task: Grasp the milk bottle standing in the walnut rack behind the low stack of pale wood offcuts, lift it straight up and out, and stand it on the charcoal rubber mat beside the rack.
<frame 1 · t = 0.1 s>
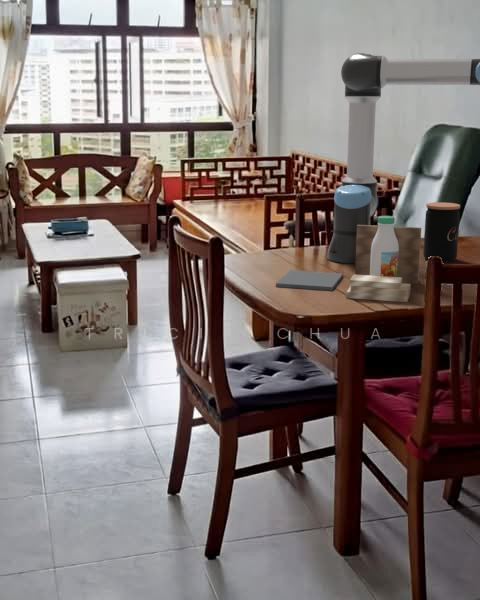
coffee jar: (439, 260, 275), on the table
offcut rack: (383, 287, 236), on the table
milk bottle: (383, 288, 236), on the table
charcoal mat: (310, 281, 243), on the table
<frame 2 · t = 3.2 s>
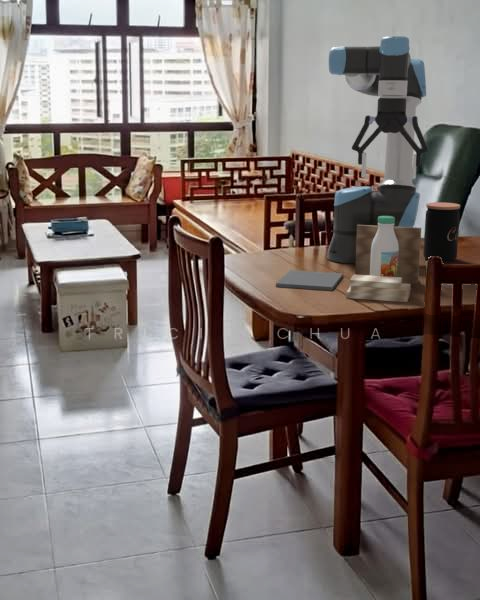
hand: (388, 177, 229), 31 cm above the table, tool pointing down, fingers open, 13 cm apart
nothing on the table moved.
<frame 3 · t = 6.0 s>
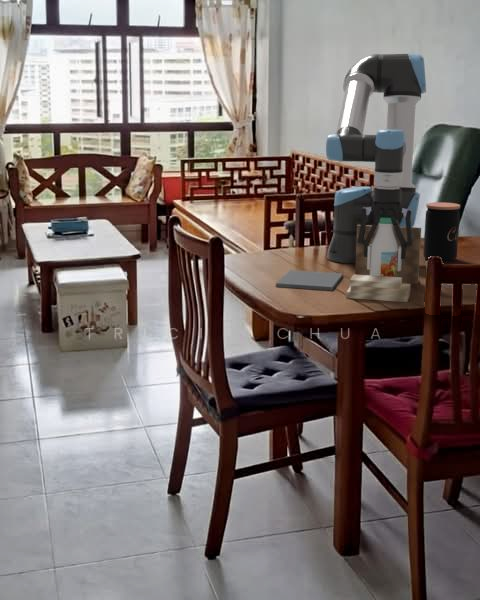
hand: (383, 269, 235), 5 cm above the table, tool pointing down, fingers closed on milk bottle, 8 cm apart
milk bottle: (383, 288, 236), on the table, touching gripper
everything else where it was.
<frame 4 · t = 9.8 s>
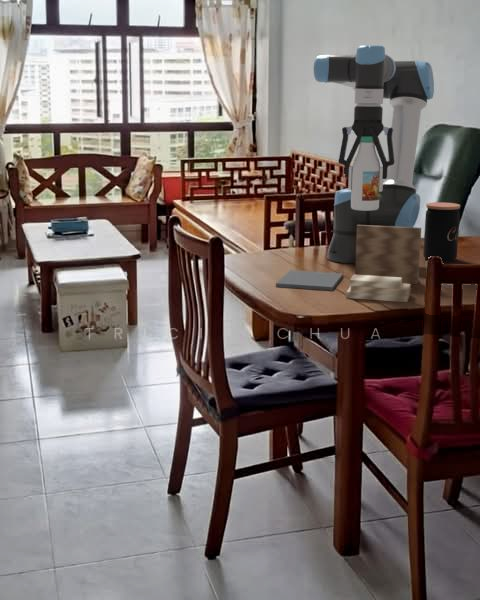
hand: (365, 190, 232), 27 cm above the table, tool pointing down, fingers closed on milk bottle, 8 cm apart
milk bottle: (364, 209, 233), point 21 cm above the table, touching gripper
everything else where it was.
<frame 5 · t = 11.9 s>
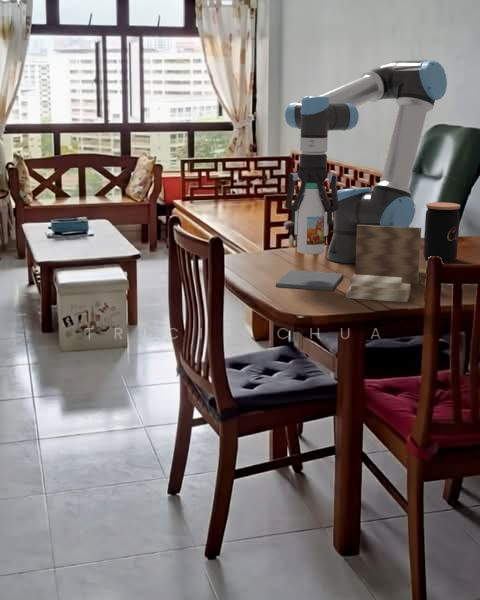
hand: (311, 234, 239), 14 cm above the table, tool pointing down, fingers closed on milk bottle, 8 cm apart
milk bottle: (310, 253, 240), point 8 cm above the table, touching gripper
everything else where it was.
when the fingers open (8 cm above the table, at t = 13.7 s): milk bottle drops 1 cm, resting on charcoal mat.
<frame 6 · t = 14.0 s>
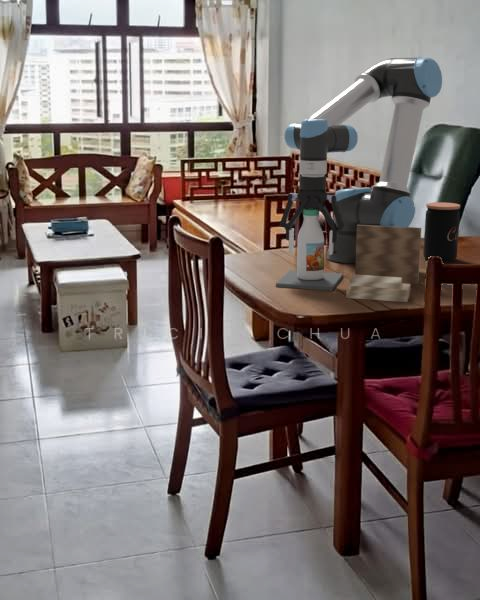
hand: (311, 252, 241), 8 cm above the table, tool pointing down, fingers open, 11 cm apart
milk bottle: (310, 278, 242), point 1 cm above the table, touching charcoal mat
everything else where it was.
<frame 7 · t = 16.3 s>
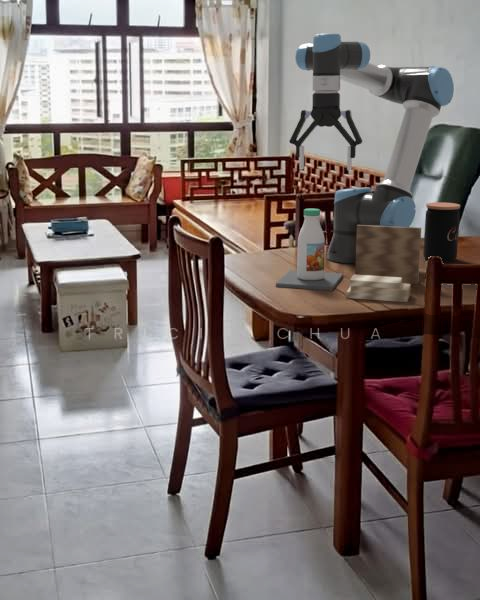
hand: (325, 169, 238), 32 cm above the table, tool pointing down, fingers open, 13 cm apart
nothing on the table moved.
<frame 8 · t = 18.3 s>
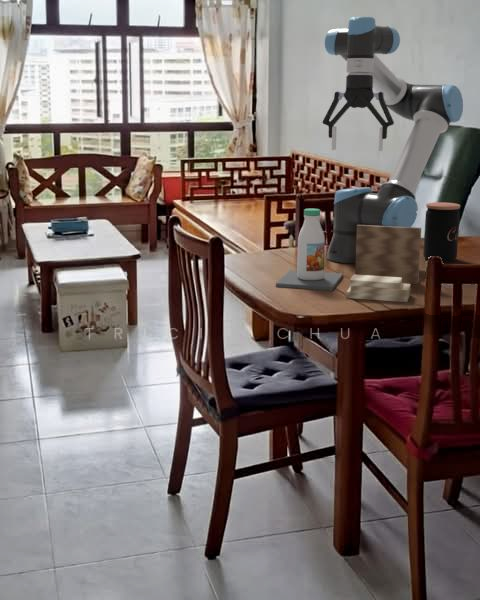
hand: (356, 150, 244), 37 cm above the table, tool pointing down, fingers open, 13 cm apart
nothing on the table moved.
at the end: milk bottle inside the target area on the charcoal mat (0.0 cm from its centre), point 0.8 cm above the charcoal mat's base; milk bottle tilted 0°; the gripper is holding nothing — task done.
